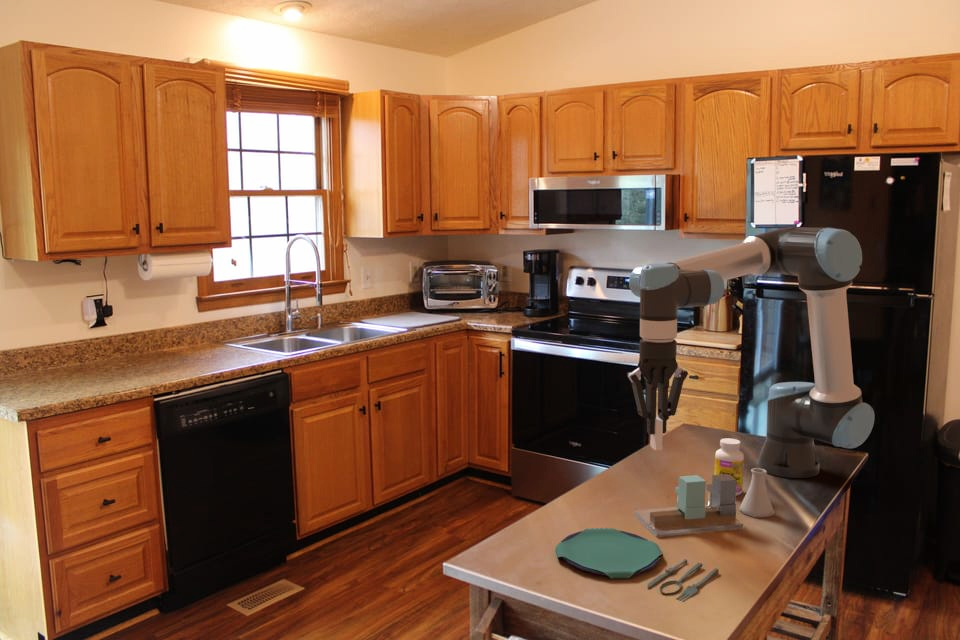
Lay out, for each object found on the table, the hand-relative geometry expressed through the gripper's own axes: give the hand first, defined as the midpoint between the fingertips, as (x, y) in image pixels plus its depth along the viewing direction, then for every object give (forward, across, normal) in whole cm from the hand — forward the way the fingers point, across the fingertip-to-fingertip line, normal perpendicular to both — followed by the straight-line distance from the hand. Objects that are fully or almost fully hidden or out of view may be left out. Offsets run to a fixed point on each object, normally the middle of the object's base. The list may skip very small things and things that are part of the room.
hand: (656, 448), depth 171 cm
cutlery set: (+19, +12, +15) cm, 26 cm away
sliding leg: (+17, -8, -2) cm, 19 cm away
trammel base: (+18, -9, -2) cm, 20 cm away
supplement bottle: (+19, -27, -17) cm, 37 cm away
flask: (+19, -27, -4) cm, 33 cm away
